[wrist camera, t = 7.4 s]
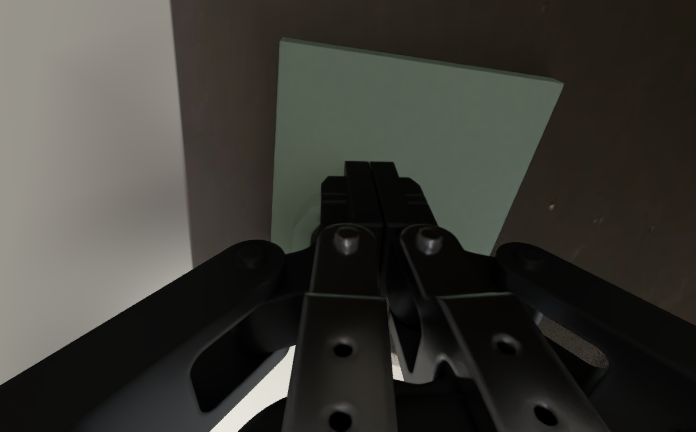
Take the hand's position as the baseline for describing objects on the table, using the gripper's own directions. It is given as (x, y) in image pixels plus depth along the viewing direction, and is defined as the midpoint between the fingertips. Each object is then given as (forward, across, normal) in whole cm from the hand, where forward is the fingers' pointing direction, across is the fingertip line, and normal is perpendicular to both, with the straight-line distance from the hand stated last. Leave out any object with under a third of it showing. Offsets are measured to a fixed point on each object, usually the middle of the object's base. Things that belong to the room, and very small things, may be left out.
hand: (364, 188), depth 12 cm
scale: (+12, -4, +5) cm, 14 cm away
